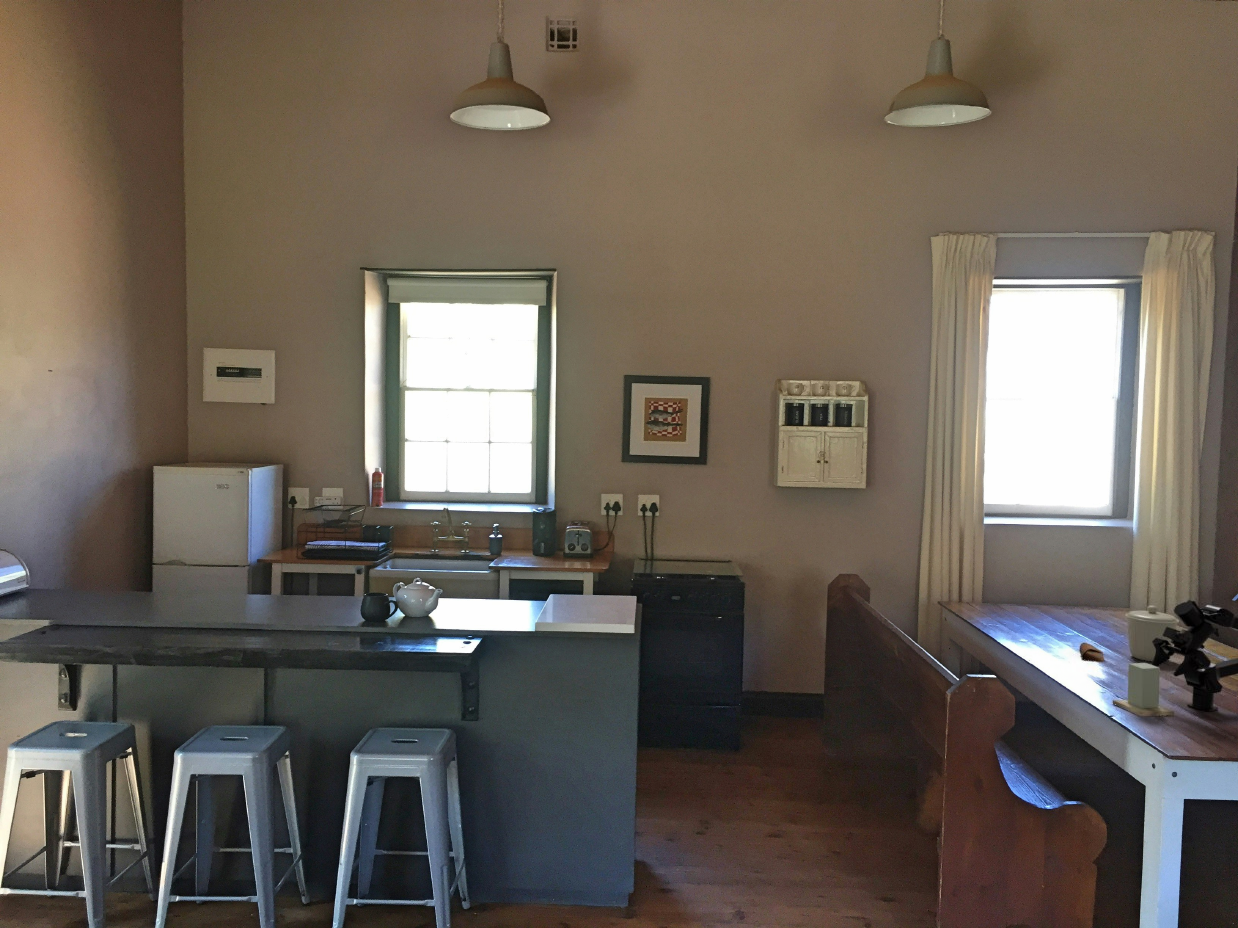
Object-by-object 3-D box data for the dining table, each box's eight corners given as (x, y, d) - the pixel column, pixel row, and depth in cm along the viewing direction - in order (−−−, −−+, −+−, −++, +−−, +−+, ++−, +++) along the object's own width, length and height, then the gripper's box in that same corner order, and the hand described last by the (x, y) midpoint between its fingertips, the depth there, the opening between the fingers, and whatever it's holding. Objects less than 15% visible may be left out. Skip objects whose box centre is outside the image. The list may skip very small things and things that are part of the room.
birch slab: (1145, 705, 288) (1146, 698, 288) (1174, 717, 277) (1174, 710, 276) (1112, 706, 287) (1112, 699, 286) (1139, 718, 275) (1139, 711, 275)
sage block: (1144, 701, 285) (1145, 662, 284) (1158, 707, 279) (1159, 667, 278) (1127, 702, 284) (1128, 663, 283) (1141, 708, 278) (1142, 668, 277)
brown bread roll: (1107, 662, 340) (1097, 646, 341) (1088, 669, 342) (1079, 653, 344) (1102, 652, 356) (1094, 637, 357) (1085, 659, 359) (1076, 644, 360)
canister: (1184, 666, 337) (1187, 611, 336) (1132, 662, 341) (1135, 608, 340) (1165, 655, 355) (1168, 602, 354) (1116, 651, 358) (1119, 599, 358)
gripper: (1158, 612, 292) (1126, 646, 290) (1204, 625, 273) (1171, 661, 272) (1178, 636, 293) (1146, 669, 292) (1225, 650, 275) (1192, 686, 273)
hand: (1163, 671), depth 282 cm, fingers open, 9 cm apart
